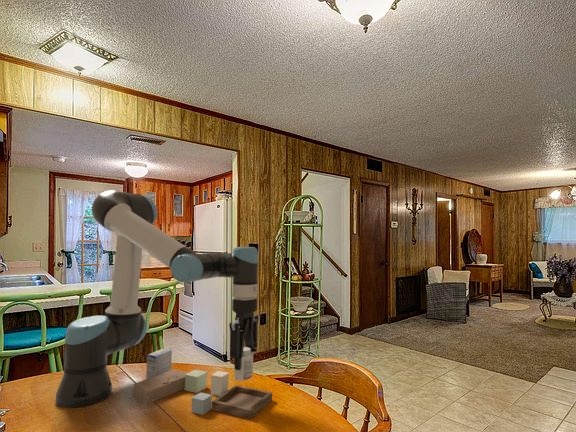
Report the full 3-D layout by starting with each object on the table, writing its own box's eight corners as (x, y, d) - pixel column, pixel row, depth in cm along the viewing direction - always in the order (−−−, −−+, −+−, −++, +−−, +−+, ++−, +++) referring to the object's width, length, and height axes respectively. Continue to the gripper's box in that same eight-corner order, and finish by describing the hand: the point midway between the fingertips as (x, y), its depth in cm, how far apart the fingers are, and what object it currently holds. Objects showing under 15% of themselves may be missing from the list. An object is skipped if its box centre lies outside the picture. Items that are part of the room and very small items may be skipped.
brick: (146, 405, 107) (147, 389, 107) (130, 398, 111) (131, 382, 112) (191, 387, 120) (191, 373, 120) (175, 381, 125) (176, 367, 125)
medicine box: (161, 372, 132) (162, 348, 133) (171, 374, 131) (172, 349, 131) (145, 380, 125) (146, 354, 126) (155, 382, 123) (156, 356, 124)
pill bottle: (253, 375, 109) (254, 347, 110) (248, 381, 105) (249, 352, 105) (239, 374, 111) (239, 346, 111) (233, 380, 106) (233, 350, 106)
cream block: (210, 394, 114) (211, 374, 115) (217, 389, 118) (218, 370, 118) (221, 396, 113) (221, 377, 113) (228, 391, 116) (228, 372, 117)
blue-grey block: (191, 412, 102) (191, 397, 103) (200, 406, 106) (200, 392, 106) (202, 415, 101) (203, 400, 101) (211, 409, 104) (211, 394, 105)
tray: (211, 409, 104) (212, 401, 104) (235, 392, 116) (235, 385, 116) (251, 419, 99) (251, 410, 99) (272, 400, 111) (272, 392, 111)
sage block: (184, 390, 117) (185, 374, 117) (194, 384, 122) (194, 369, 122) (197, 393, 115) (197, 377, 115) (206, 387, 120) (207, 371, 120)
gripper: (240, 303, 100) (239, 390, 98) (269, 294, 116) (268, 369, 114) (217, 301, 103) (216, 385, 101) (248, 293, 119) (247, 365, 117)
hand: (243, 376), depth 108 cm, fingers closed on pill bottle, 5 cm apart
